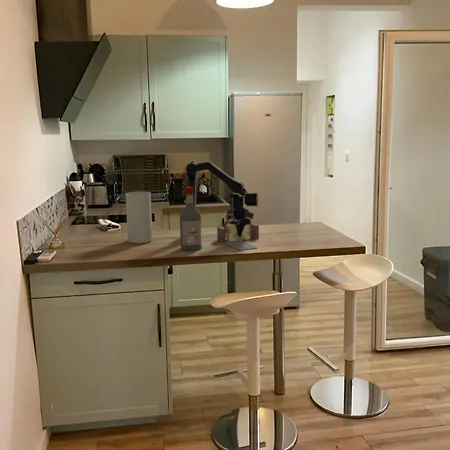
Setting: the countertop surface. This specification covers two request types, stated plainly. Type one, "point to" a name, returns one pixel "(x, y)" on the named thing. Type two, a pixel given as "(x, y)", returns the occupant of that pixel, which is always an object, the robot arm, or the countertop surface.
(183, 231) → the liquor
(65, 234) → the countertop surface
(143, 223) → the cylinder vase
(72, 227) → the countertop surface
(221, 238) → the holder
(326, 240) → the countertop surface
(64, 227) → the countertop surface
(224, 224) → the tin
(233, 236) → the block
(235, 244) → the mat
